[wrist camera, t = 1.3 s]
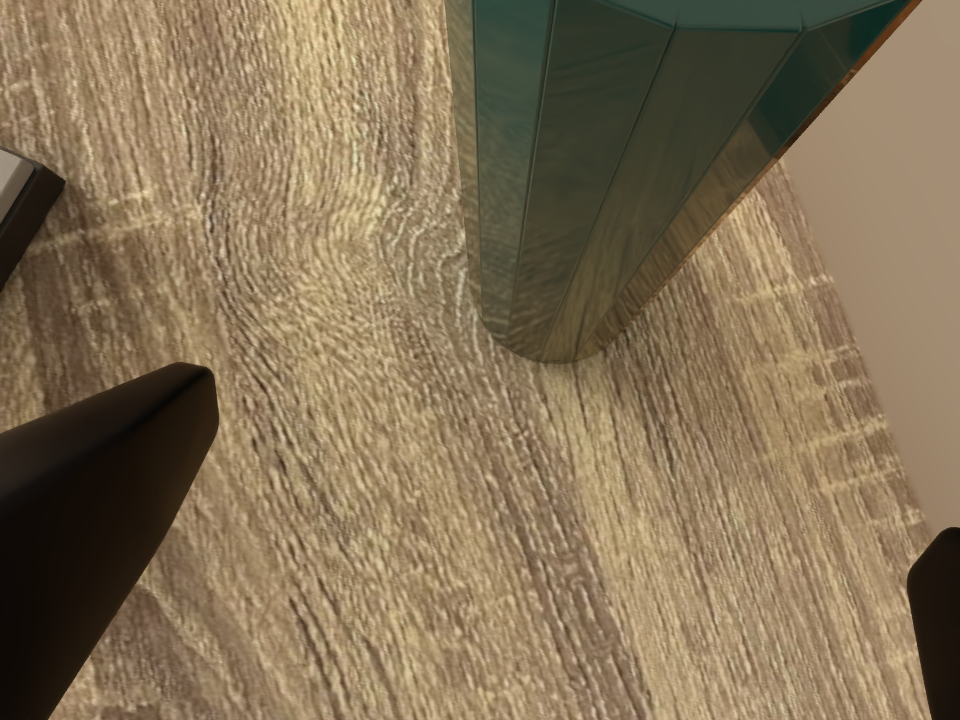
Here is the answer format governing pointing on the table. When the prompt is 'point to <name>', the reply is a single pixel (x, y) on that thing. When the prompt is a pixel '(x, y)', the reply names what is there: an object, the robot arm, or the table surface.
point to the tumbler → (626, 142)
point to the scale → (22, 205)
